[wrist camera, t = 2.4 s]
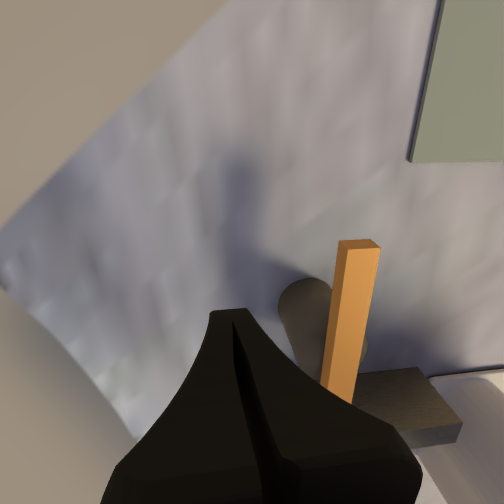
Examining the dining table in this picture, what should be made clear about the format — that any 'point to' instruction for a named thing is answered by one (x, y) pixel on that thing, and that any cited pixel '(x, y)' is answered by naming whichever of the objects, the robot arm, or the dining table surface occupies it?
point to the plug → (308, 322)
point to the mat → (464, 86)
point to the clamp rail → (407, 406)
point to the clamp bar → (348, 314)
